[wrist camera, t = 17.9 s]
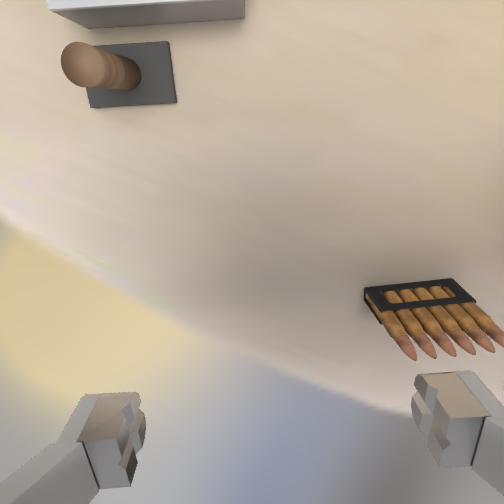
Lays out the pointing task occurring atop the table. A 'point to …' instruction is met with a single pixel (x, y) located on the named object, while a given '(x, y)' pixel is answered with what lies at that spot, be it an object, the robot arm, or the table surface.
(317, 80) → the table surface
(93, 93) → the rubber pad
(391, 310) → the ammunition clip
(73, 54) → the brown rounded rod
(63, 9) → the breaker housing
